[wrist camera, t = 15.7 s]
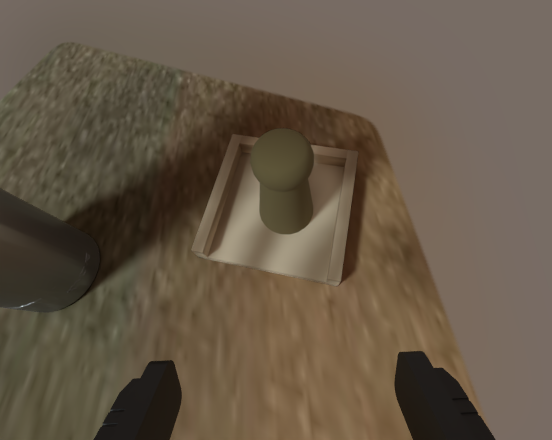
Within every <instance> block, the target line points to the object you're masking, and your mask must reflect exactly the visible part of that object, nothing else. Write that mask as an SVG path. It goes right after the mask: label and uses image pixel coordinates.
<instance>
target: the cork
mask: <svg viewBox="0 0 552 440" xmlns="http://www.w3.org/2000/svg"><path fill="white" fill-rule="evenodd" d="M250 164H251V167H252V171H253V174H254V176H255V177H256V178H257V180H258V181H259V182H260V203H259V213H260V217H261V220H262V222H263V223H264V225H265V226H266V227H267V228H268V229H270V230H271V231H273V232H275V233H278V234H293V233H297V232H299V231H301V230H302V229H304V228H305V227H306V226H307V225H308V224H309V222H310V221H311V218H312V215H313V202H312V197H311V191H310V186H309V180H308V178H309V176H310V174H311V172H312V169H313V167H314V152H313V149H312V147H311V144H310V142H309V141H308V140H307V139H306V138H305V137H304V136H303V135H302V134H300V133H299V132H297V131H295V130H292V129H288V128H278V129H274V130H270V131H268V132H266V133H265V134H263V135H262V136H261V137H260V138H259V139H258V140H257V141H256V142H255V144H254V146H253V148H252V150H251V159H250Z"/></svg>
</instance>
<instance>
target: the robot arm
mask: <svg viewBox="0 0 552 440" xmlns="http://www.w3.org/2000/svg"><path fill="white" fill-rule="evenodd" d="M99 262H100V254H99V249H98V246H97V244H96V242H95V241H94V239H93V238H92V237H90V236H89V235H88V234H86V233H84V232H82V231H80V230H78V229H77V228H75V227H73V226H71V225H69V224H67V223H65V222H63V221H62V220H60V219H58V218H56V217H54V216H52V215H50V214H48V213H47V212H45V211H43V210H41V209H39V208H37V207H35V206H33V205H31V204H29V203H27V202H26V201H24V200H22V199H20V198H18V197H16V196H14V195H12V194H10V193H8V192H6V191H5V190H3V189H1V188H0V307H3V308H9V309H18V310H26V311H34V312H53V311H58V310H60V309H62V308H65V307H67V306H69V305H70V304H72V303H73V302H75V301H76V300H77V299H79V298H80V297H81V296H82V295H83V294H84V293H85V292H86V291H87V289H88V288H89V287H90V285H91V284H92V282H93V280H94V279H95V277H96V274H97V271H98V268H99ZM395 393H396V397H397V400H398V403H399V406H400V408H401V411H402V413H403V416H404V418H405V421H406V423H407V426H408V428H409V431H410V433H411V436H412V438H413V440H495V438H494V436H493V435H492V433H491V432H490V430H489V429H488V427H487V426H486V424H485V423H484V421H483V420H482V418H481V417H480V416H479V415H478V412H477V410H476V409H475V407H474V406H473V404H472V403H471V401H469V399H468V397H467V395H466V393H465V392H464V390H463V389H462V387H461V386H460V384H459V383H458V381H457V380H456V379H454V378H453V377H452V376H451V375H450V374H449V373H448V372H447V371H445V370H444V369H443V368H433V366H432V365H431V363H430V361H429V359H428V358H427V356H426V355H425V353H424V352H422V351H413V352H399V354H398V359H397V367H396V374H395ZM181 398H182V392H181V387H180V383H179V379H178V375H177V372H176V368H175V364H174V362H173V361H172V360H170V361H151V362H149V364H148V365H147V367H146V369H145V371H144V372H143V374H142V376H141V378H138V379H132V381H131V382H130V383H129V384H128V385H127V386H126V387H125V388H124V389H123V390H122V391H121V392H120V393H119V395H118V397H117V399H116V400H115V402H114V404H113V406H112V408H111V411H110V413H108V415H107V417H106V418H105V420H104V422H103V426H102V427H100V429H99V431H98V433H97V435H96V436H95V438H94V440H170V437H171V434H172V431H173V428H174V425H175V422H176V418H177V415H178V412H179V409H180V405H181Z"/></svg>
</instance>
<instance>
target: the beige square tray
mask: <svg viewBox="0 0 552 440" xmlns="http://www.w3.org/2000/svg"><path fill="white" fill-rule="evenodd" d="M258 139H259V138H258V137H251V136H244V135H236V134H232V137H231V140H230V143H229V146H228V148H227V151H226V154H225V157H224V160H223V162H222V165H221V168H220V171H219V174H218V176H217V179H216V182H215V185H214V188H213V190H212V193H211V196H210V199H209V202H208V205H207V207H206V210H205V213H204V216H203V219H202V221H201V224H200V227H199V230H198V233H197V235H196V238H195V241H194V244H193V247H192V250H191V251H192V252H194V253H195V254H196V255H197V256H198V257H200V258H205V259H209V260H214V261H219V262H224V263H228V264H233V265H238V266H243V267H247V268H252V269H257V270H262V271H266V272H271V273H276V274H281V275H286V276H290V277H295V278H300V279H305V280H309V281H314V282H319V283H324V284H328V285H333V286H338V285H339V283H340V282H341V276H342V269H343V261H344V254H345V247H346V239H347V232H348V225H349V217H350V210H351V203H352V196H353V188H354V181H355V174H356V166H357V159H358V152H359V151H353V150H346V149H338V148H331V147H324V146H317V145H311V147H312V149H313V152H314V167H313V169H312V172H311V174H310V176H309V178H308V180H309V186H310V191H311V197H312V202H313V215H312V218H311V221H310V222H309V224H308V225H307V226H306V227H305V228H304V229H302V230H301V231H299V232H297V233H293V234H278V233H275V232H273V231H271V230H270V229H268V228H267V227H266V226H265V225H264V223H263V222H262V220H261V217H260V213H259V203H260V182H259V181H258V180H257V178H256V177H255V176H254V174H253V171H252V167H251V164H250V159H251V150H252V148H253V146H254V144H255V142H256V141H257V140H258Z"/></svg>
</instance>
